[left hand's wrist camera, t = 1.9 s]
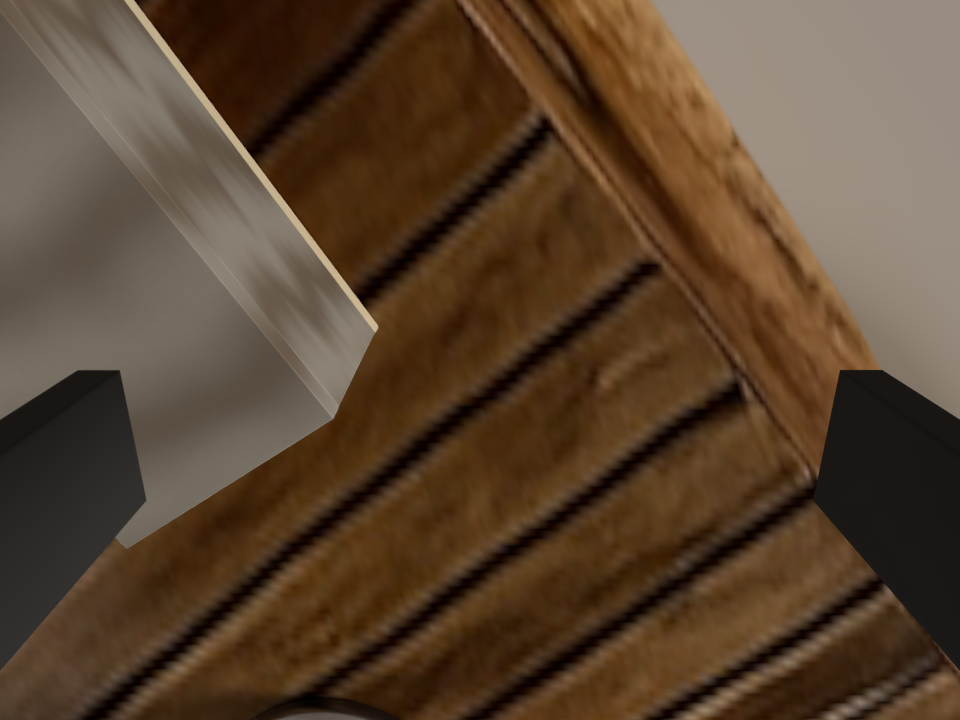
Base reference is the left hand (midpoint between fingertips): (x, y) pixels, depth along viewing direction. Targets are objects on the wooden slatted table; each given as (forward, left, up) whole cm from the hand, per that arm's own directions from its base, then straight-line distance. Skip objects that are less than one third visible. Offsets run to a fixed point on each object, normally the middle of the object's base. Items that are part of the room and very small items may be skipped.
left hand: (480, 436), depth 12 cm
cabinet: (-11, +12, -23) cm, 27 cm away
